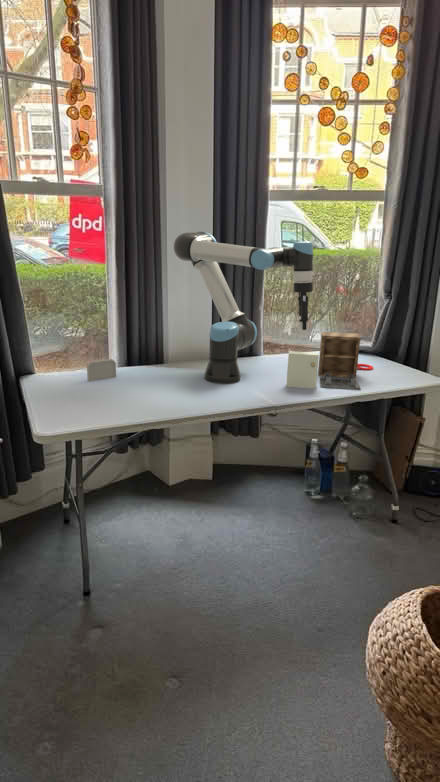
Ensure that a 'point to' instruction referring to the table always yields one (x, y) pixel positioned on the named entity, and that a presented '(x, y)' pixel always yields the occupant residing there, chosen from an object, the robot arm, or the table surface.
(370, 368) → the tow hook
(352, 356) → the cabinet
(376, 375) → the table surface
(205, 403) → the table surface
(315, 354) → the door panel
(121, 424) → the table surface
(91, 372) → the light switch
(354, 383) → the grey pegged base plate
